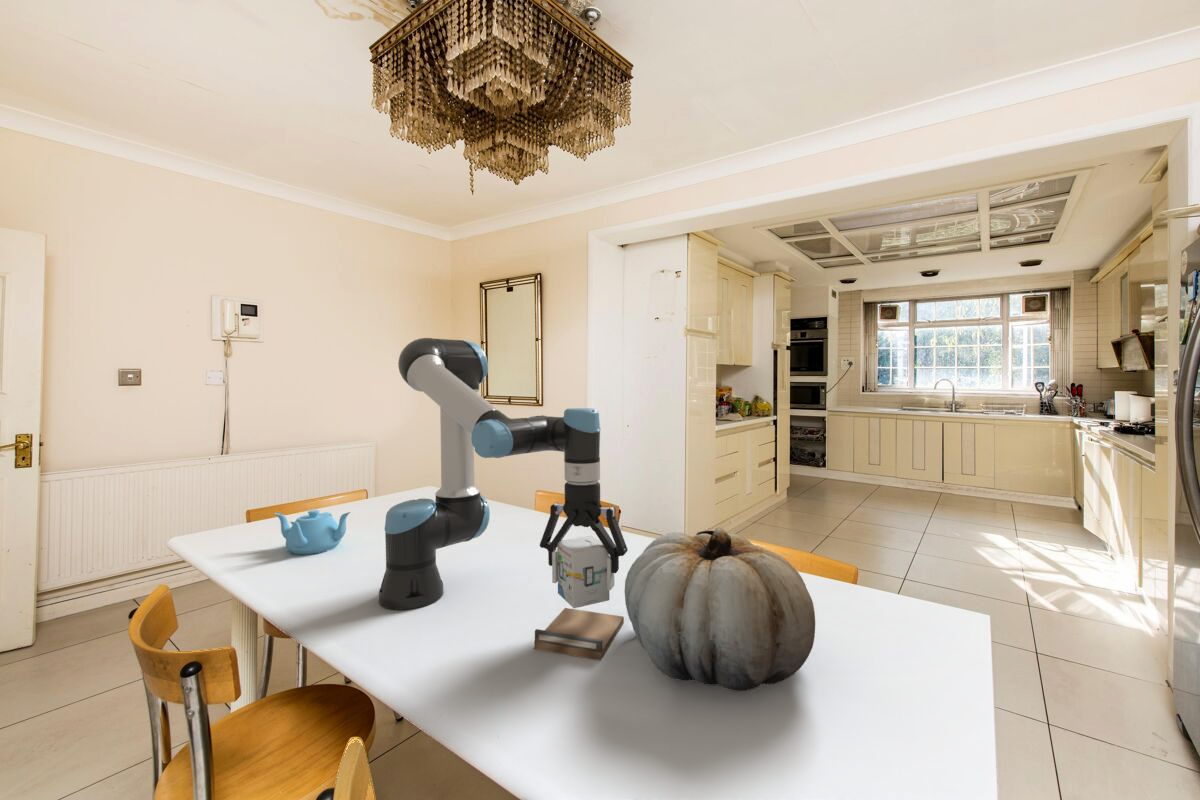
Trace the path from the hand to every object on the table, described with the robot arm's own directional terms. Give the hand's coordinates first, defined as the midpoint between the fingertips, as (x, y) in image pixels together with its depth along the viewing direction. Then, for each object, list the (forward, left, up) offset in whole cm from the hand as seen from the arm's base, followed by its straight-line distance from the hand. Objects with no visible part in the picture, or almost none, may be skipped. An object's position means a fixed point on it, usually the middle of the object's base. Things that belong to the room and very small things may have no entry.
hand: (583, 584), depth 107 cm
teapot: (-103, +25, -11) cm, 107 cm away
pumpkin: (+27, 0, -11) cm, 29 cm away
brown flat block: (0, -1, -10) cm, 11 cm away
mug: (+23, +49, -11) cm, 55 cm away
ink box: (0, 0, -3) cm, 3 cm away
